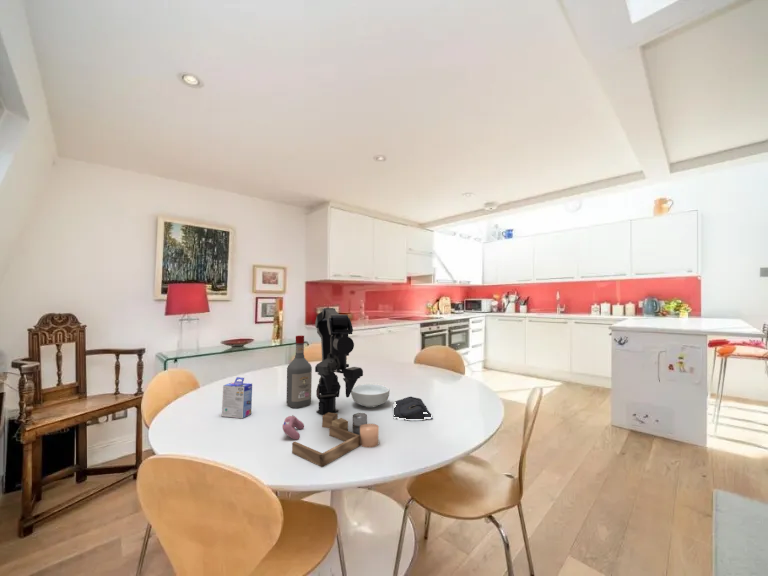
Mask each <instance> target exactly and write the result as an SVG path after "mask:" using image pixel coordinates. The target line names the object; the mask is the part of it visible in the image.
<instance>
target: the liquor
mask: <svg viewBox="0 0 768 576" xmlns="http://www.w3.org/2000/svg"><path fill="white" fill-rule="evenodd" d="M304 345H305V335H295V355H294V358H293V360H291V362H290V363H288V365H287V368H286V369H287V370H286V405H287V407H290V408H291V409H300V408H305V407H309V406H310V405H311V403H312V381H313V380H312V376H313V374H312V373H313V372H312V371H313V370H312V369H313V367H312V365H311V363H310V362H309V361H308V360H307V359H306V358H305V349H304V348H305V346H304Z"/></svg>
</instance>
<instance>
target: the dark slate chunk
mask: <svg viewBox="0 0 768 576" xmlns="http://www.w3.org/2000/svg"><path fill="white" fill-rule="evenodd" d="M394 402H396V404H397V405H396V407H395V408H394V415H395V416H394V415H393V417H399V418H406V419H424V417H431V415H432V413H431V412H430V411H429V409H428V407H427V405H425V403H424V402H423V399H421V398H420V397H414V396H407V397H405V398H402V399H398V400H395V401H394ZM423 412H427V413H428V414H423Z"/></svg>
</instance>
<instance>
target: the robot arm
mask: <svg viewBox="0 0 768 576" xmlns="http://www.w3.org/2000/svg"><path fill="white" fill-rule="evenodd" d="M315 318H316V319H315V323H314V324H315V325H314V326H315V329H316V333H317V335H318V336H319V337H320V342H321V345H320V346H321V347H320V348H321V361H320V362H319V363H317V364H316V365H315V367H314V372H315V373H317V375H318V376H320V377H319V379H318V384H317V386H316V387H317V388H316V392H315V393H316V395H315V396H316V398H317V400H318V409H317V410H316V413H317V414H320V415H322V416H323V415H325V414H326V413H328V412H330V413H337V412H339V409H337V407H336V405H337V404H336V402H337V401H336V398H339V397H340V393H341V392H340V391H341V384H340V381H339V376H338V375H337V374H342V375H343V378H342V380H343V381H344V383H345V384H344V385H345V398H349V397H350V395H351V391H352V389H353V387H354V386H356V385H355V384H357V383H356V382H357V381H358V380H359V379H361V377H363V376H364V374H363V373H364V370H363V368H362V367H359V366H358V367H357V366H351V367H350V364H349V363H347V359H348V358H347V356H350V353H351V352H353V350H354V348H355V343H354V340H353V339H352V338H351V337H349V335H353V331H354V328H353V324H352V321H351V318H350V317H349V316H348V314H340V313H339V312H337V311H336V308H334V307H324V308H322V311H321V312H320V313H319V314H317V315H316V317H315ZM336 373H337V374H336Z"/></svg>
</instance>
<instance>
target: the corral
mask: <svg viewBox="0 0 768 576" xmlns="http://www.w3.org/2000/svg"><path fill="white" fill-rule="evenodd" d="M328 429H329V431H328V432H329V433H328V435H329V437H332V438H334V439H338V440H340V441H343V442H341V443H339V444H337V445H336V446H333V447H332V448H330V449H328V450H326V451H324V452H321V451H318V450H316V449H313V448H311V447H310V446H306V445H304V444H302V443H299V442H298V441H293V442H291V446H292V447H291V453H292V454H293V455H296V456H298V457H300V458H302V459H304V460H306V461H308V462H311V463H313V464H314V465H317V466H319V467H321V468H322V467H324V466H326V465H328V464H330V463H332V462H334V461H335V460H337V459H338V458H340V457H342V456H343V455H344V456H345V455H346V454H348V453H350V452H351V451H352V450H355V449H357V448H358V447H360V446H361V445H360V443H361V435H358V434H355V433H352V431H349V430H348V431H346V430H343V429H340V428H337V427H334V426H330V427H329V428H328Z"/></svg>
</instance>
